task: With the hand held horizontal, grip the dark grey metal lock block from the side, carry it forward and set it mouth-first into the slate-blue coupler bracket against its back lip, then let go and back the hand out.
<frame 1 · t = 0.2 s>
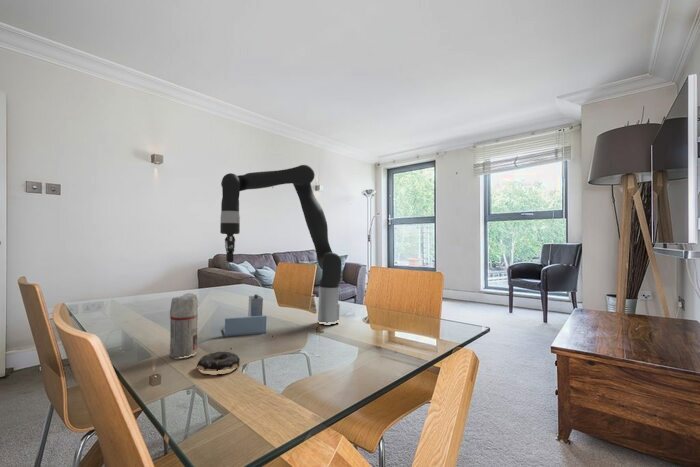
hand: (229, 261, 138), 29 cm above the table, tool pointing down, fingers open, 8 cm apart
coupler bracket: (244, 331, 138), on the table
lock block: (254, 323, 150), on the table
donut: (219, 370, 99), on the table
spray can: (183, 356, 108), on the table
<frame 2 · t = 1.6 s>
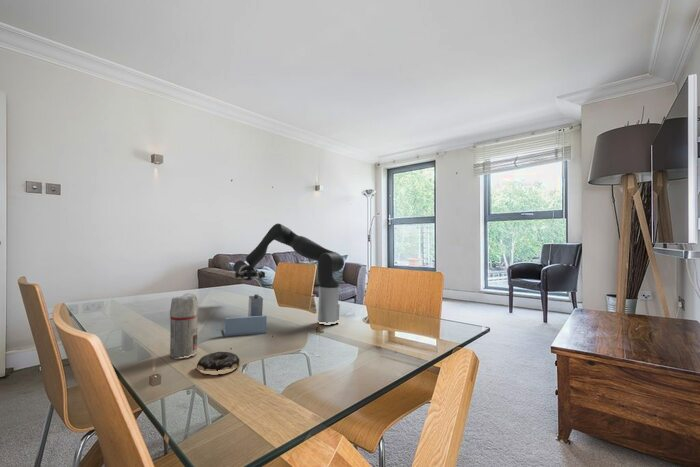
hand: (252, 276, 161), 20 cm above the table, tool horizontal, fingers open, 8 cm apart
nothing on the table moved.
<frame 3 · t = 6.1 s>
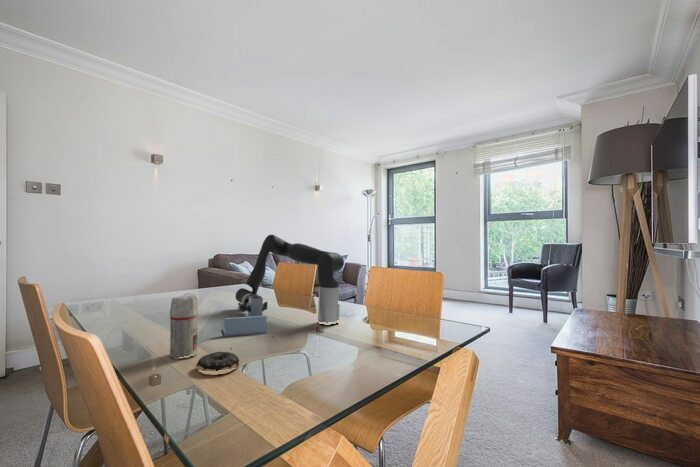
hand: (256, 309, 148), 7 cm above the table, tool horizontal, fingers closed on lock block, 5 cm apart
lock block: (254, 323, 150), on the table, touching gripper
everything else where it was.
when the fingers open (9 cm above the table, at t = 10.5 s): lock block drops 1 cm, resting on coupler bracket.
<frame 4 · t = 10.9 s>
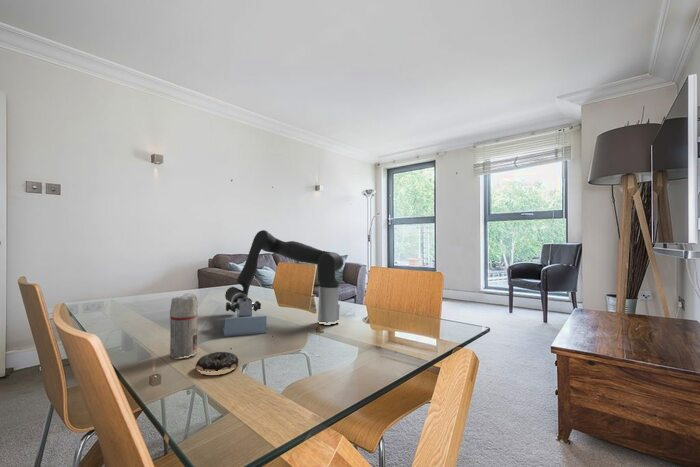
hand: (245, 309, 137), 9 cm above the table, tool horizontal, fingers open, 8 cm apart
lock block: (243, 328, 139), point 1 cm above the table, touching coupler bracket
everything else where it was.
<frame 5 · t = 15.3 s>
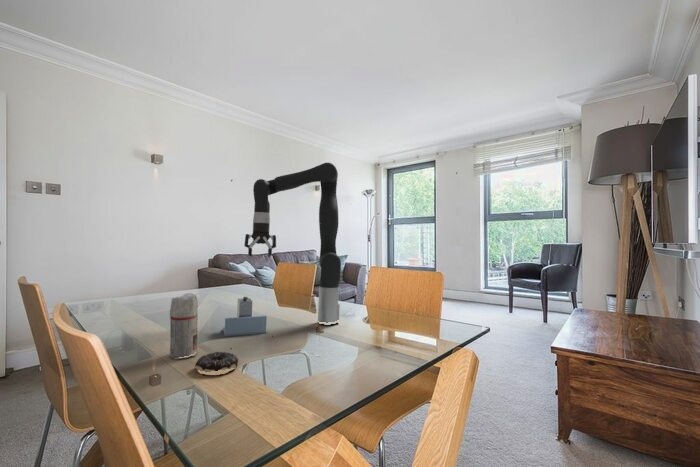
hand: (259, 256, 157), 30 cm above the table, tool pointing down, fingers open, 8 cm apart
nothing on the table moved.
at the end: lock block 0.6 cm off-centre on the coupler bracket, point 0.8 cm above the coupler bracket's base; lock block tilted 0°; the gripper is holding nothing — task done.
